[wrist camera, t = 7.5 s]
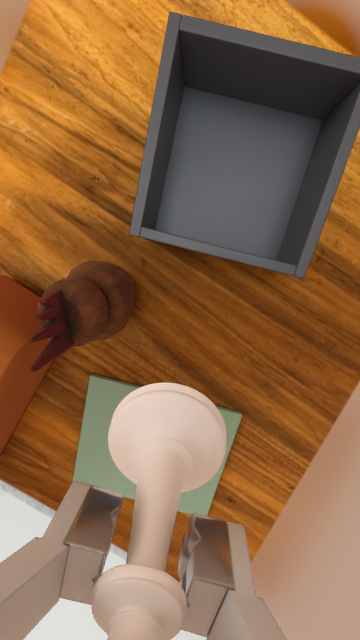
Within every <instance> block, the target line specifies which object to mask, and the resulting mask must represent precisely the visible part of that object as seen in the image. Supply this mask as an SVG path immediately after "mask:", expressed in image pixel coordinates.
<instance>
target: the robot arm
mask: <svg viewBox="0 0 360 640" xmlns="http://www.w3.org/2000/svg"><path fill="white" fill-rule="evenodd" d="M123 497H124V494H121V493H117V492H114V491H111V490H107V489H104V488H101V487H98V486H94V485H91V484H87V483H83V482H80V481H76V480H75V481H74V482H73V483H72V485H71V486H70V488H69V490H68V492H67V493H66V495H65V497H64V499H63V501H62V502H61V504H60V506H59V508H58V510H57V512H56V513H55V515H54V517H53V519H52V521H51V523H50V524H49V526H48V528H47V530H46V532H45V533H44V535H43V537H42V538H38V537H36V538H34V539H33V540H31V541H30V542H29V543H27V544H26V545H25V546H23V547H22V548H21V549H19V550H18V551H16V552H15V553H14V554H12V555H11V556H9V557H8V558H7V559H6V560H4V561H3V562H1V563H0V640H23V639H24V638H25V637H26V636H27V635H28V633H29V632H30V631H31V630H32V629H33V628H34V627H35V625H37V624H38V623H39V621H40V620H41V619H42V618H43V617H44V616H45V615H46V614H47V613H48V612H49V611H50V609H51V608H52V607H53V606H54V605H55V604H56V603H57V602H58V601H59V598H63V599H68V600H72V601H77V602H81V603H85V604H89V605H92V601H93V588H94V585H95V583H96V581H97V580H98V578H99V577H100V576H101V575H102V572H103V568H104V565H105V560H106V557H107V555H108V552H109V549H110V546H111V542H112V539H113V535H114V532H115V528H116V525H117V521H118V517H119V512H120V508H121V505H122V501H123ZM178 575H179V577H180V580H181V581H180V585H181V587H182V588H183V590H184V592H185V594H186V598H187V611H186V614H185V617H184V623H183V626H182V628H181V630H184V631H188V632H191V633H194V634H198V635H201V636H204V637H207V640H287V639H286V637H285V636H284V634H283V632H282V631H281V629H280V627H279V626H278V624H277V622H276V621H275V619H274V617H273V616H272V614H271V612H270V611H269V609H268V607H267V606H266V604H265V602H264V600H263V599H262V598H261V597H257V596H256V591H255V586H254V580H253V574H252V568H251V562H250V556H249V550H248V544H247V538H246V532H245V529H244V527H243V525H239V524H235V523H232V522H228V521H225V520H222V519H218V518H214V517H210V516H206V515H202V514H198V513H194V512H193V513H192V514H191V516H190V519H189V524H188V531H186V532H185V533H184V536H183V540H182V543H181V548H180V554H179V562H178Z"/></svg>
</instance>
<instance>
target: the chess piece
mask: <svg viewBox="0 0 360 640" xmlns="http://www.w3.org/2000/svg"><path fill="white" fill-rule="evenodd" d="M226 438H227V434H226V427H225V423H224V420H223V417H222V415H221V413H220V412H219V410H218V409H217V407H216V406H215V405H214V404H213V403H212V402H211V401H210V400H209V399H208V398H207V397H206V396H204V395H203V394H202V393H200V392H198V391H197V390H195V389H192V388H190V387H187V386H184V385H181V384H176V383H154V384H149V385H146V386H143V387H140V388H138V389H136V390H134V391H133V392H131V393H130V394H128V395H127V396H126V397H125V398H124V399H123V400H122V401H121V402H120V403H119V405H118V406H117V408H116V410H115V412H114V414H113V417H112V420H111V424H110V428H109V432H108V446H109V451H110V454H111V457H112V459H113V461H114V463H115V465H116V466H117V468H118V469H119V470H120V471H121V472H122V474H123V475H124V476H126V477H127V478H128V479H129V480H130V481H132V482H133V483H135V484H136V485H137V488H136V496H135V505H134V513H133V521H132V529H131V535H130V541H129V547H128V554H127V561H126V564H125V565H119V566H116V567H114V568H111V569H109V570H108V571H106V572H105V573H103V574H102V575H101V576H100V577H99V578H98V580H97V581H96V583H95V585H94V588H93V601H92V613H93V616H94V619H95V620H96V622H97V624H98V625H99V626H100V627H101V628H102V629H103V630H104V631H105V632H106V633H107V634H108V636H109V637H108V639H107V640H170V639H172V638H173V637H175V636H176V635H177V634H178V633H179V631H180V630H181V628H182V626H183V623H184V617H185V614H186V611H187V598H186V594H185V592H184V590H183V588H182V587H181V585H180V584H179V583H178V582H177V581H176V580H175V579H174V578H173V577H172V576H170V575H169V574H167V573H166V572H165V567H166V562H167V557H168V552H169V547H170V541H171V536H172V531H173V527H174V522H175V517H176V512H177V508H178V503H179V499H180V494H181V493H183V492H188V491H191V490H194V489H196V488H198V487H200V486H202V485H204V484H205V483H207V482H208V481H209V480H210V479H211V478H212V477H213V476H214V475H215V474H216V473H217V472H218V470H219V468H220V467H221V465H222V463H223V460H224V457H225V452H226Z"/></svg>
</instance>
